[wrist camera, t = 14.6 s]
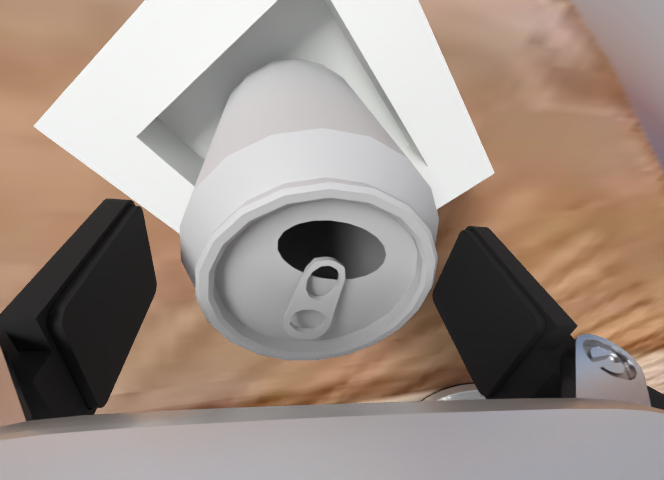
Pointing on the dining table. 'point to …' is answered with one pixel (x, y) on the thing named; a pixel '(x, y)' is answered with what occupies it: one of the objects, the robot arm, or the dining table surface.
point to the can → (307, 220)
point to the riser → (232, 66)
